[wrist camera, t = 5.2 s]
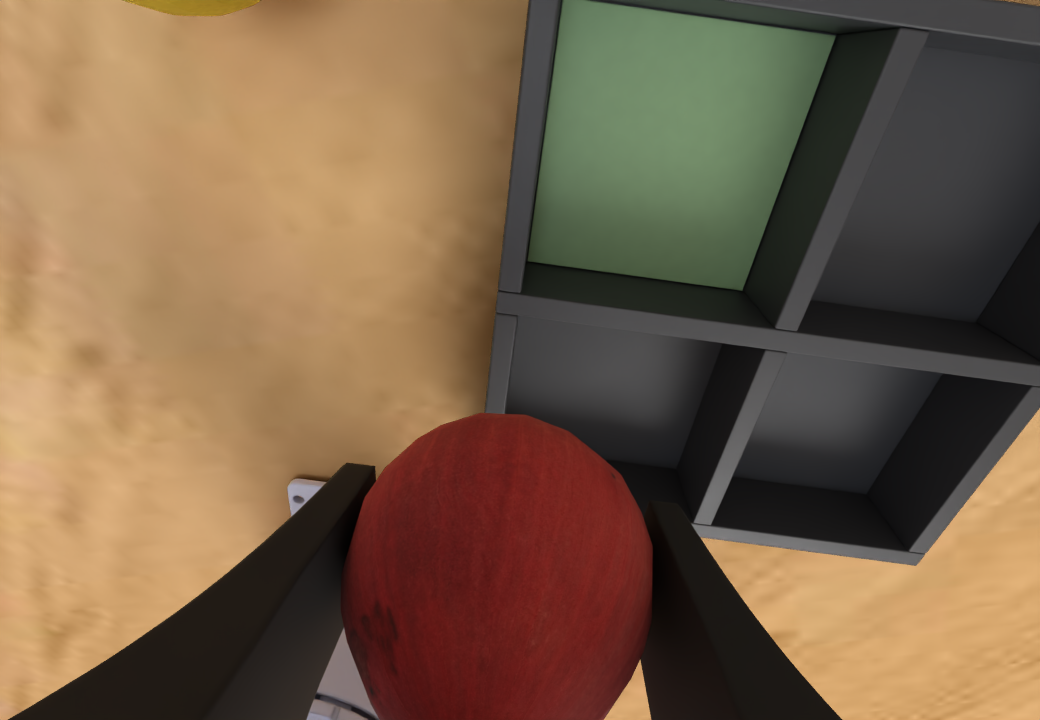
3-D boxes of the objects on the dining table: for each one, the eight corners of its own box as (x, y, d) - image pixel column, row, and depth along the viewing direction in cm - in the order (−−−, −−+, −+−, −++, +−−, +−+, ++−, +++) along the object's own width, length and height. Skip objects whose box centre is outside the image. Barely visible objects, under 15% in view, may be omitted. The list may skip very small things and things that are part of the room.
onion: (472, 544, 15) (402, 942, 8) (358, 399, 13) (124, 791, 6) (659, 484, 14) (766, 917, 7) (568, 306, 11) (590, 695, 4)
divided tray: (868, 499, 23) (916, 566, 20) (484, 448, 22) (474, 508, 19) (1156, 51, 14) (1323, 46, 11) (539, -38, 14) (535, -68, 11)
